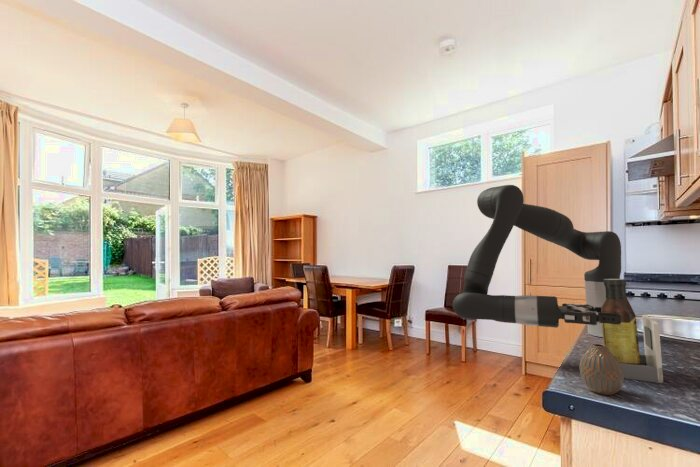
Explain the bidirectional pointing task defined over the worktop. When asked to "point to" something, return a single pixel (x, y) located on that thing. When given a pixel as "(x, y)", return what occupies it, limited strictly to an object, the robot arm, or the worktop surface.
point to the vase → (601, 370)
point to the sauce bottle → (621, 335)
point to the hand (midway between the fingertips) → (617, 315)
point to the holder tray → (647, 356)
